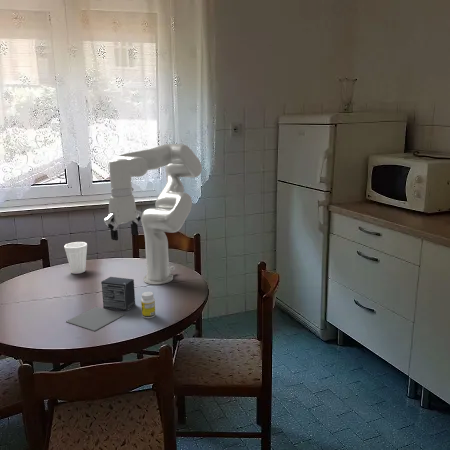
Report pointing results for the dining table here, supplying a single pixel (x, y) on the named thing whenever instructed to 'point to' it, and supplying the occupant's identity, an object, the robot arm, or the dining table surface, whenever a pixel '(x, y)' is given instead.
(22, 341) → the dining table surface
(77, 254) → the cup
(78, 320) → the mat
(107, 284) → the small box
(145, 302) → the supplement bottle
